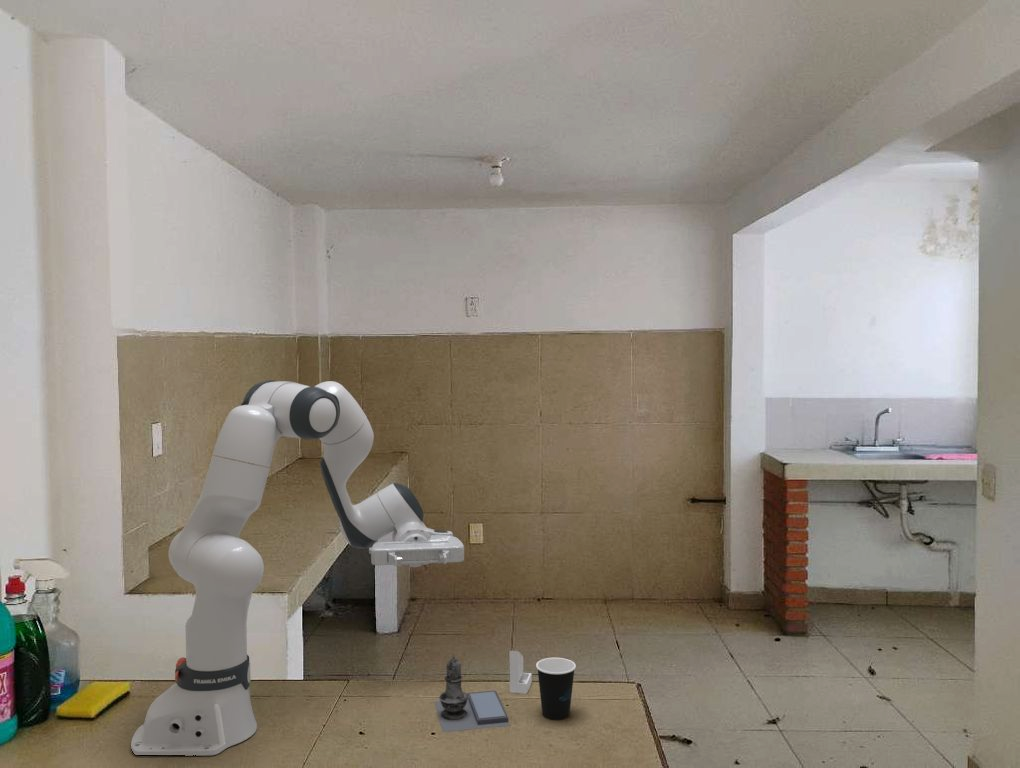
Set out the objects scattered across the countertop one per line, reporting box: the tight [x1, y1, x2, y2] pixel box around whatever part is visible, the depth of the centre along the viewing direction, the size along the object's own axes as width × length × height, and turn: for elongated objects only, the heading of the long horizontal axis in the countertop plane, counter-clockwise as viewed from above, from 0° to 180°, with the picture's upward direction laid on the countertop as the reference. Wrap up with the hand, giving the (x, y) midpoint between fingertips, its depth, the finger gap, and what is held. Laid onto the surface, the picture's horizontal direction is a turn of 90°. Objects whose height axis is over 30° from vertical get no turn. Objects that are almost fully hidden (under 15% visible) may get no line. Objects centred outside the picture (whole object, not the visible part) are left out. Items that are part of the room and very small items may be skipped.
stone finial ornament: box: [438, 654, 469, 720], centre depth 169 cm, size 6×6×12 cm
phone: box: [466, 690, 509, 725], centre depth 172 cm, size 6×13×1 cm, turn 12°
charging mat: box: [433, 699, 511, 733], centre depth 170 cm, size 13×14×1 cm
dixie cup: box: [535, 657, 577, 721], centre depth 169 cm, size 8×8×11 cm
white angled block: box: [509, 650, 533, 695], centre depth 181 cm, size 4×10×9 cm, turn 168°
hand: (420, 561), depth 179 cm, fingers open, 8 cm apart
